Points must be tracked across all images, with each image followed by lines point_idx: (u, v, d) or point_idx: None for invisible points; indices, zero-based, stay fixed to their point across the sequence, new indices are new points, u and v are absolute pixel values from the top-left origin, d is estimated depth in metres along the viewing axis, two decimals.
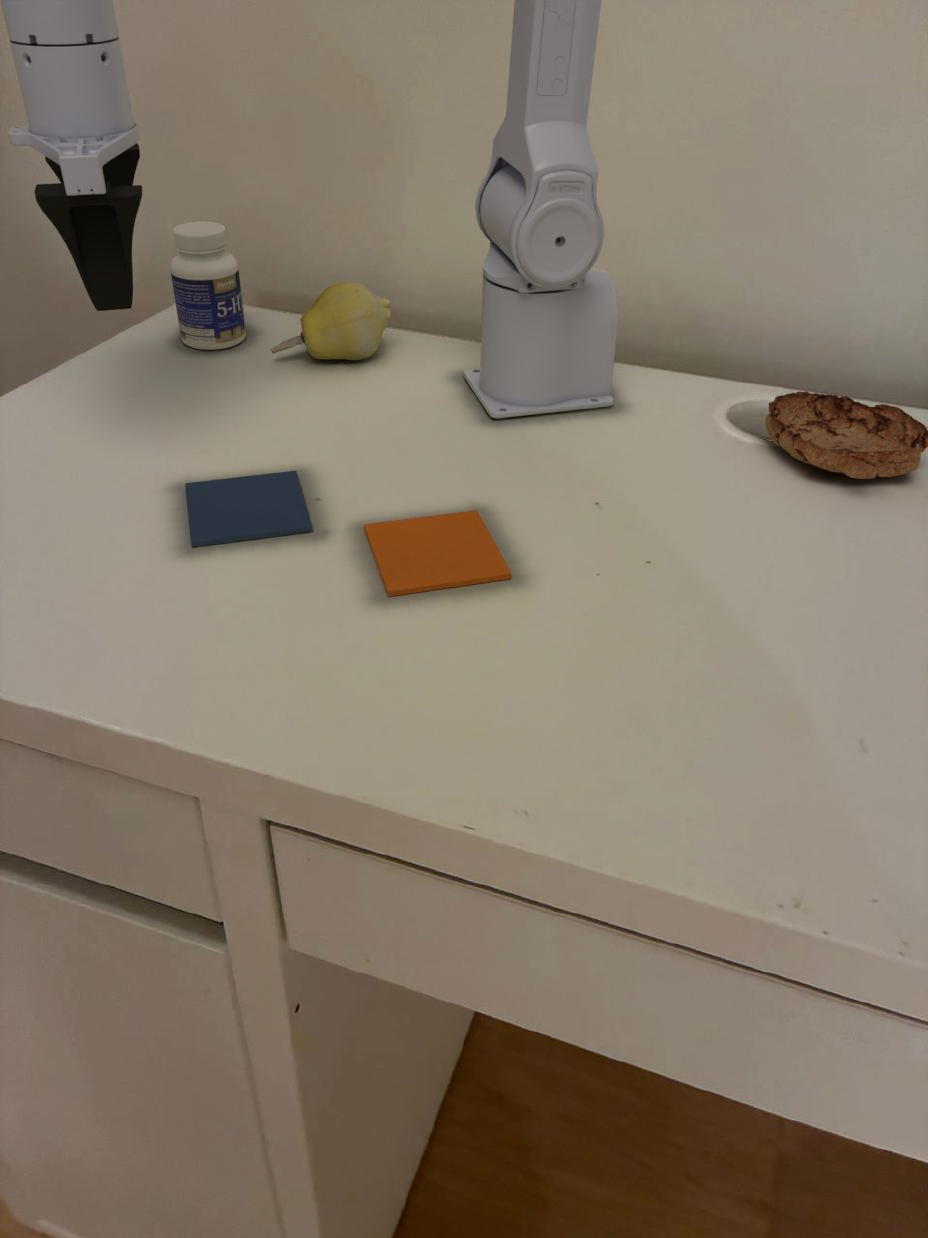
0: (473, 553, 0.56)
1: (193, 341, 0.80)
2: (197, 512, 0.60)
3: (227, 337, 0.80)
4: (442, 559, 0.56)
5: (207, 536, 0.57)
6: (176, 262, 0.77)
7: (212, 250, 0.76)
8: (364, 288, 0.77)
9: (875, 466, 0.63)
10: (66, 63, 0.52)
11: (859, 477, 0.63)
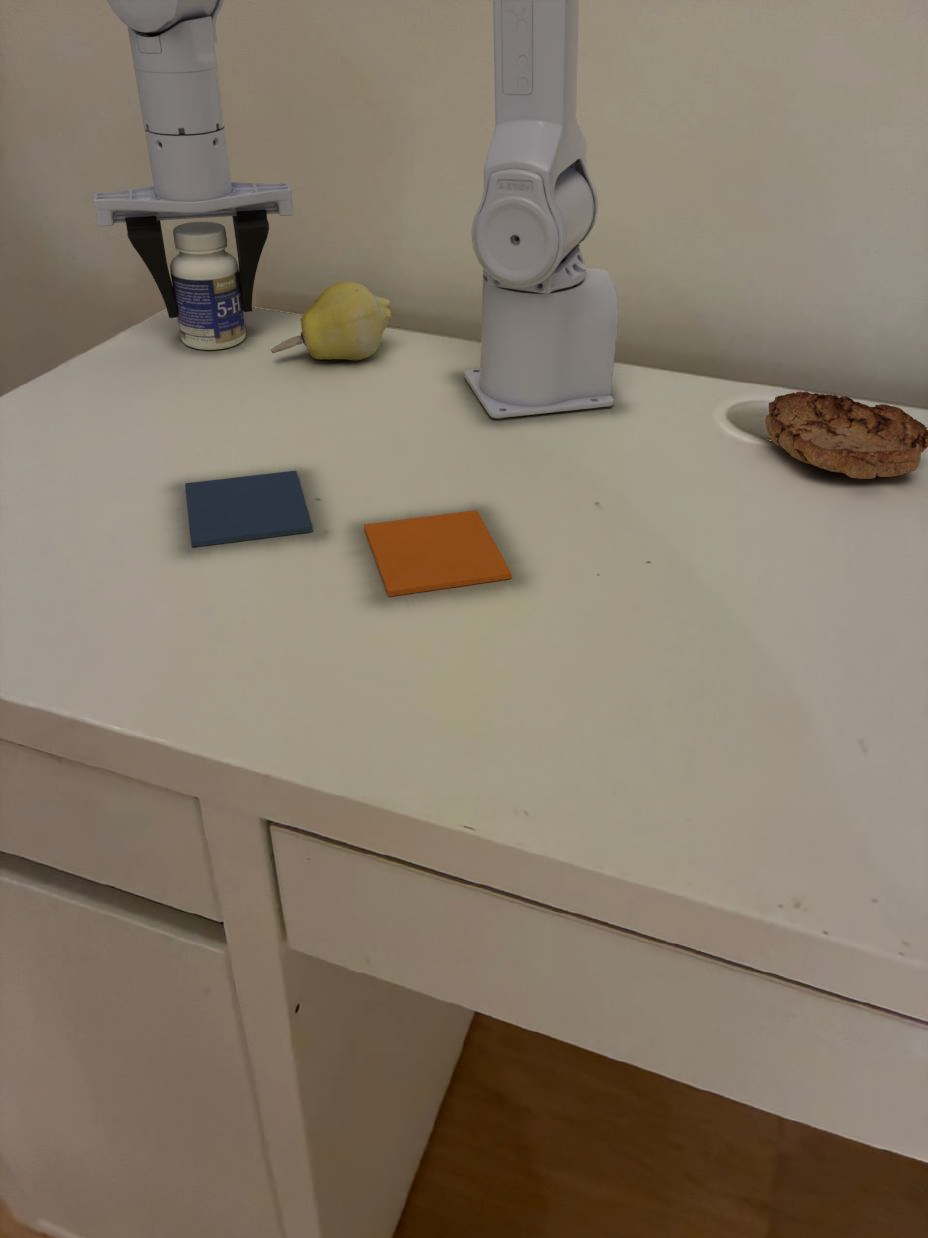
0: (473, 553, 0.56)
1: (192, 340, 0.80)
2: (197, 512, 0.60)
3: (227, 337, 0.80)
4: (442, 559, 0.56)
5: (207, 536, 0.57)
6: (175, 262, 0.77)
7: (211, 250, 0.76)
8: (364, 288, 0.77)
9: (875, 466, 0.63)
10: (146, 140, 0.72)
11: (859, 477, 0.63)
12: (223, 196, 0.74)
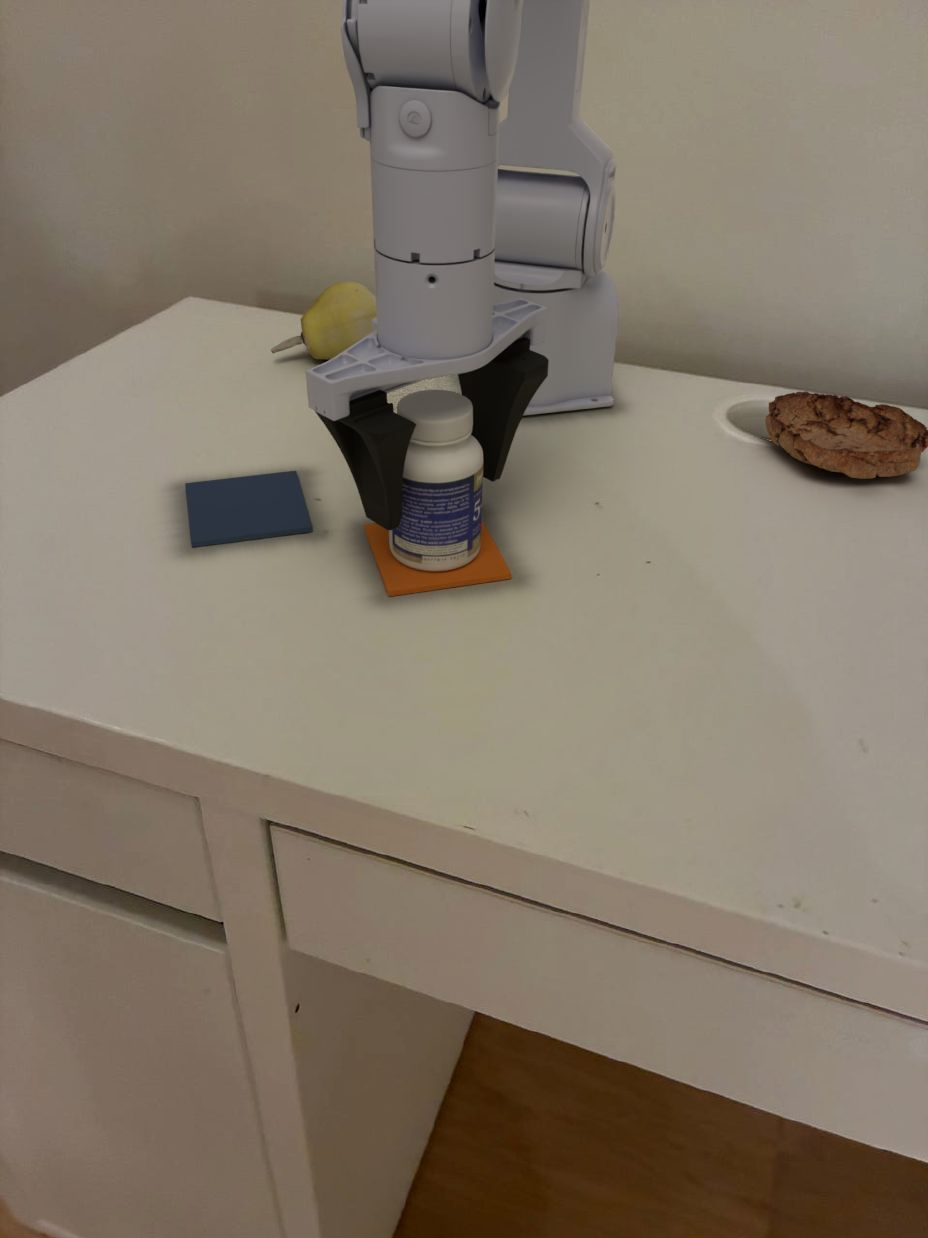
0: None
1: (436, 563, 0.54)
2: (197, 512, 0.60)
3: (477, 544, 0.55)
4: None
5: (207, 536, 0.57)
6: (415, 462, 0.51)
7: (468, 434, 0.52)
8: (364, 288, 0.77)
9: (875, 466, 0.63)
10: (389, 275, 0.45)
11: (859, 477, 0.63)
12: (493, 337, 0.49)
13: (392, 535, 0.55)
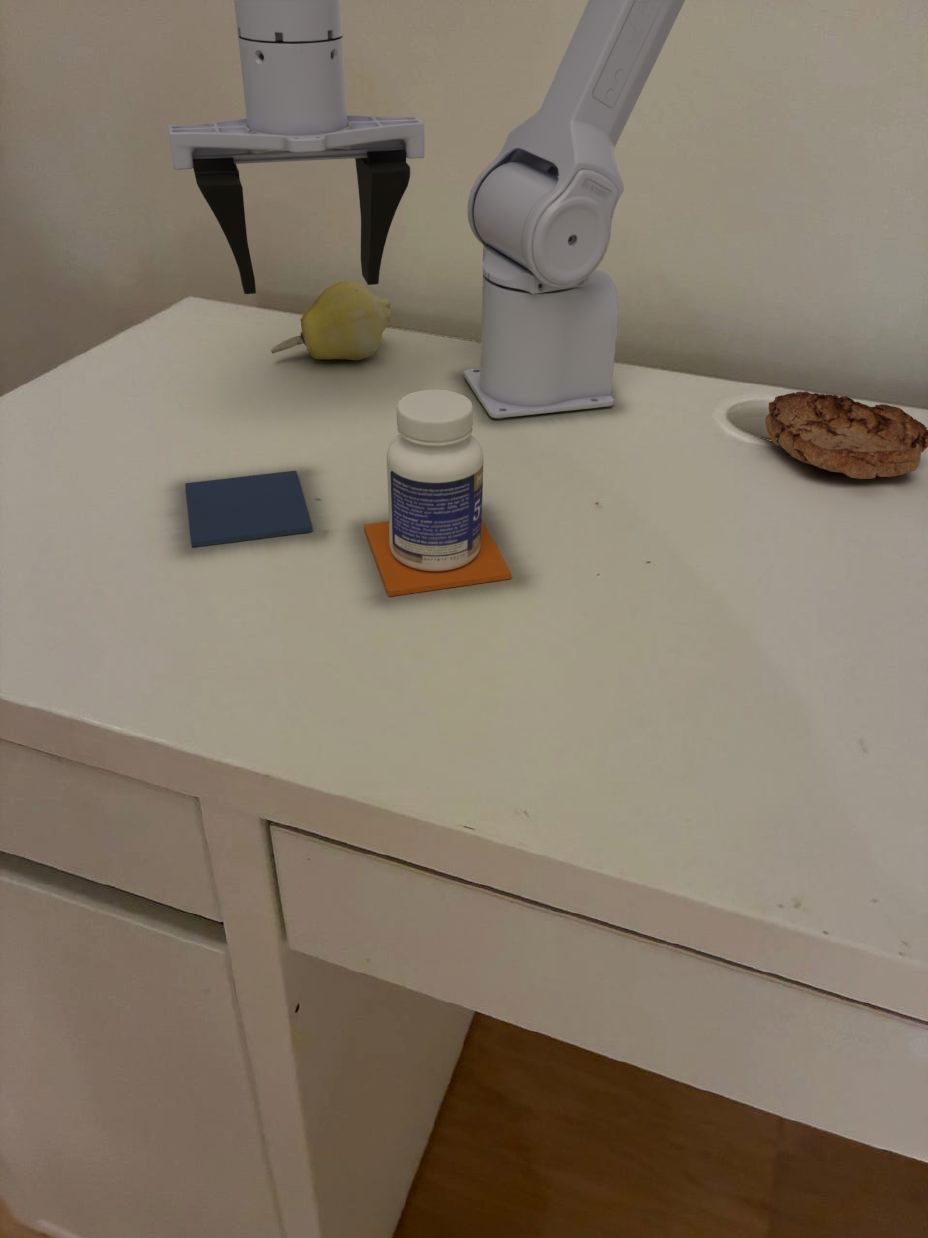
0: None
1: (436, 563, 0.54)
2: (197, 512, 0.60)
3: (477, 544, 0.55)
4: None
5: (207, 536, 0.57)
6: (415, 461, 0.51)
7: (468, 434, 0.52)
8: (364, 288, 0.77)
9: (875, 466, 0.63)
10: None
11: (859, 477, 0.63)
12: None
13: (392, 535, 0.55)
